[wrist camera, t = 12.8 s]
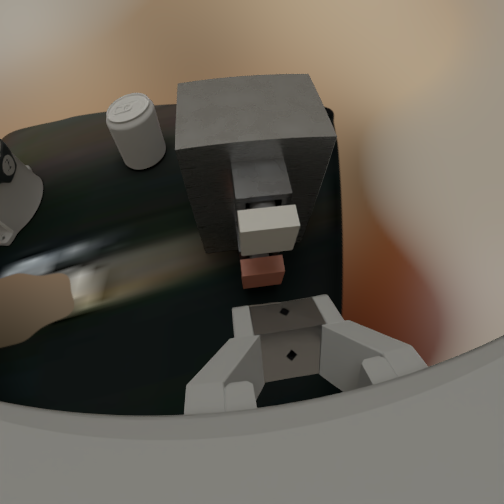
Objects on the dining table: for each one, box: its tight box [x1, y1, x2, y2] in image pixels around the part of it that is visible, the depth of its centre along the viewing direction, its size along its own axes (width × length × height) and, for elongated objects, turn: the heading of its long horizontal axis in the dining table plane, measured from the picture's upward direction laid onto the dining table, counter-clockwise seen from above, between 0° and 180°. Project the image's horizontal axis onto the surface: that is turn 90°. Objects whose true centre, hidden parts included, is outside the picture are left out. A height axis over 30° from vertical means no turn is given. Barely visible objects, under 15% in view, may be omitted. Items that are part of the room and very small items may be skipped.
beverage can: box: [106, 93, 166, 170], centre depth 47 cm, size 8×8×12 cm
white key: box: [237, 200, 300, 256], centre depth 28 cm, size 5×6×5 cm
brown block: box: [240, 253, 285, 289], centre depth 38 cm, size 5×6×5 cm
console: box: [175, 74, 337, 267], centre depth 36 cm, size 14×14×22 cm
